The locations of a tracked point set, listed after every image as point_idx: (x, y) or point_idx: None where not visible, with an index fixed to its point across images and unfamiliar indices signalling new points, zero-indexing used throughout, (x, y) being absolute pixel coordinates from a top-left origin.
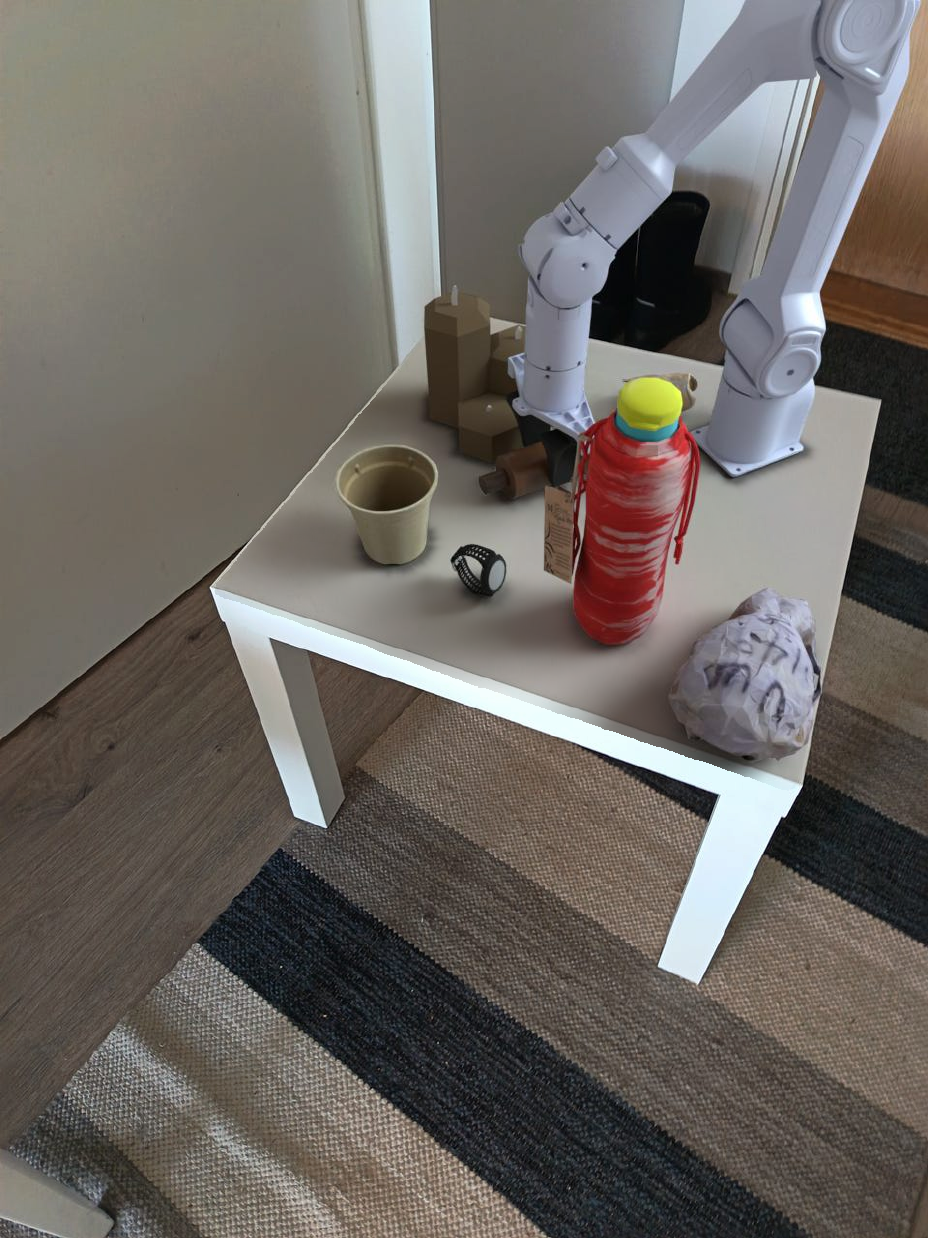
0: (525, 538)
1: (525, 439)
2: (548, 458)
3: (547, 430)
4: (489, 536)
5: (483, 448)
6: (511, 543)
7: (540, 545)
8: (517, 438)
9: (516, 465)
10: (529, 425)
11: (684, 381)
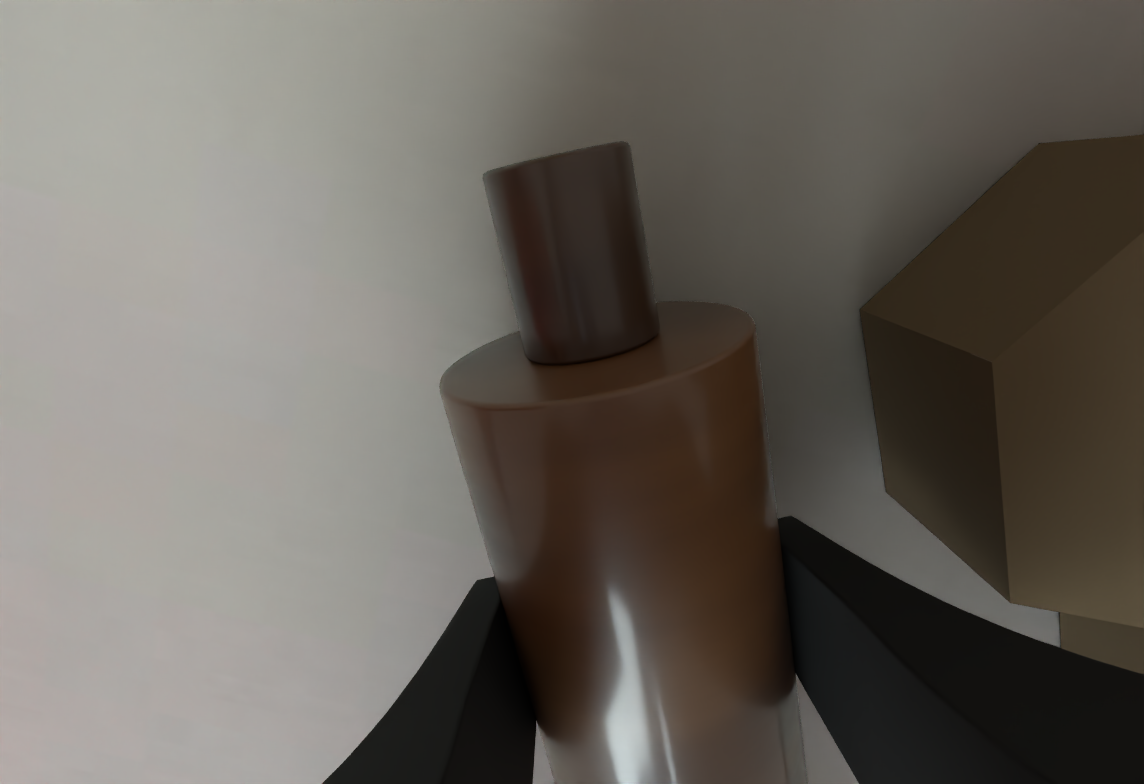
0: (214, 324)
1: (824, 588)
2: (429, 735)
3: (844, 740)
4: (254, 121)
5: (958, 283)
6: (181, 236)
7: (152, 385)
8: (939, 509)
9: (534, 458)
10: (891, 705)
11: None
